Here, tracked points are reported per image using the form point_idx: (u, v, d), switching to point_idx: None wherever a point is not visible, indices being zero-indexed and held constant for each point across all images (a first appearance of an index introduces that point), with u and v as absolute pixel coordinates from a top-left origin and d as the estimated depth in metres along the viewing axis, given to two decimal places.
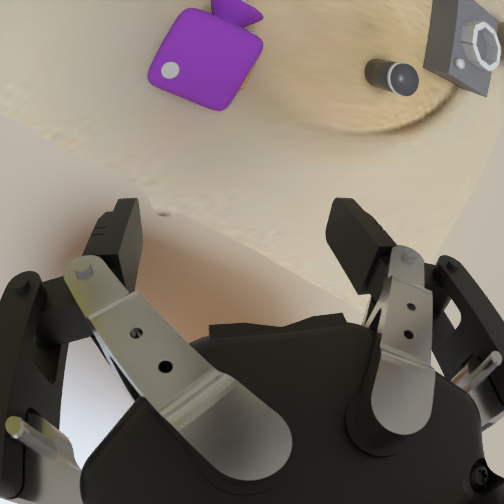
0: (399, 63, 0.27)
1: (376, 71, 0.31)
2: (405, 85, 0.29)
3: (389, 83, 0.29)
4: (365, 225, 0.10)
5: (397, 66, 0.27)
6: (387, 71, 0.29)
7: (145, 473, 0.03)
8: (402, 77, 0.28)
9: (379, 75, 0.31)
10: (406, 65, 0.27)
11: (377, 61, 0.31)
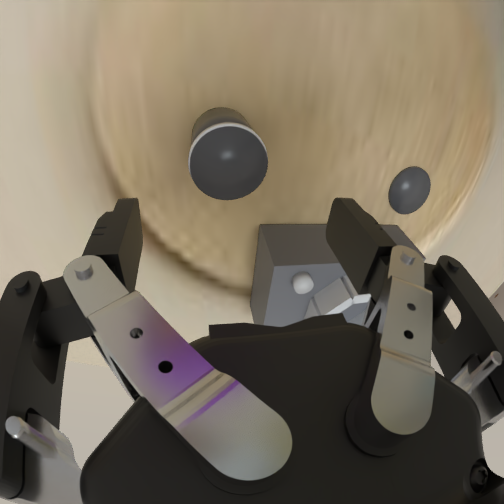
0: (262, 144, 0.16)
1: (225, 115, 0.18)
2: (215, 167, 0.16)
3: (208, 129, 0.15)
4: (365, 225, 0.10)
5: (255, 137, 0.16)
6: (234, 122, 0.16)
7: (145, 473, 0.03)
8: (232, 155, 0.16)
9: (217, 118, 0.17)
10: (264, 159, 0.16)
11: (246, 121, 0.20)
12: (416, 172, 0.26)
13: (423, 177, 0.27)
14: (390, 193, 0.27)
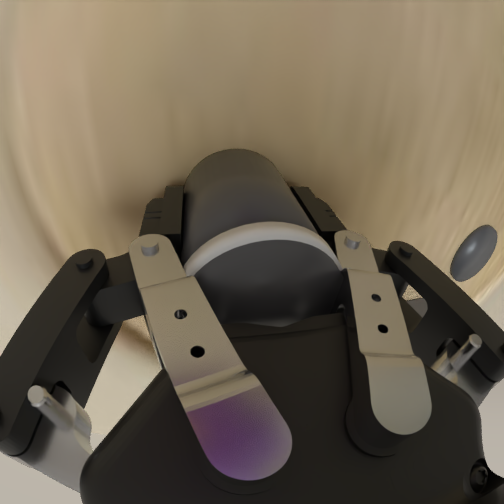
0: None
1: (250, 178, 0.09)
2: None
3: (219, 244, 0.07)
4: (313, 211, 0.10)
5: (331, 266, 0.07)
6: (282, 221, 0.07)
7: (145, 473, 0.03)
8: (277, 304, 0.07)
9: (235, 192, 0.08)
10: None
11: (284, 182, 0.11)
12: (487, 232, 0.17)
13: (492, 237, 0.18)
14: (455, 261, 0.19)
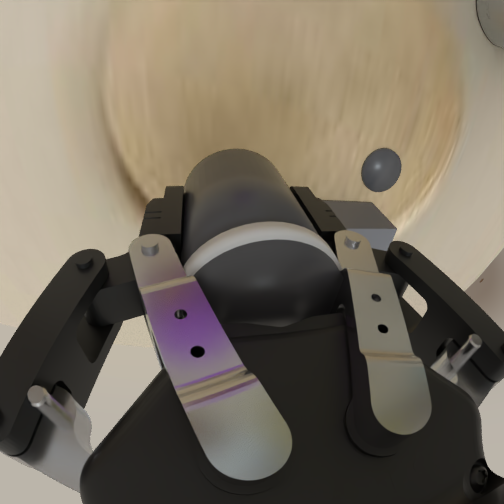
0: None
1: (250, 178, 0.09)
2: None
3: (219, 244, 0.07)
4: (313, 211, 0.10)
5: (331, 266, 0.07)
6: (282, 222, 0.07)
7: (145, 473, 0.03)
8: (276, 304, 0.07)
9: (235, 192, 0.08)
10: None
11: (284, 182, 0.11)
12: (386, 152, 0.30)
13: (393, 158, 0.31)
14: (362, 172, 0.31)
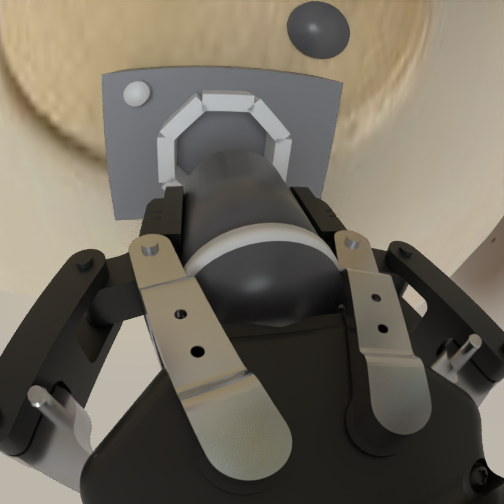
0: None
1: (249, 179, 0.09)
2: None
3: (219, 245, 0.07)
4: (313, 211, 0.10)
5: (331, 267, 0.07)
6: (282, 223, 0.07)
7: (145, 473, 0.03)
8: (277, 305, 0.07)
9: (235, 193, 0.08)
10: None
11: (284, 183, 0.11)
12: (320, 5, 0.17)
13: (334, 14, 0.18)
14: (288, 28, 0.19)
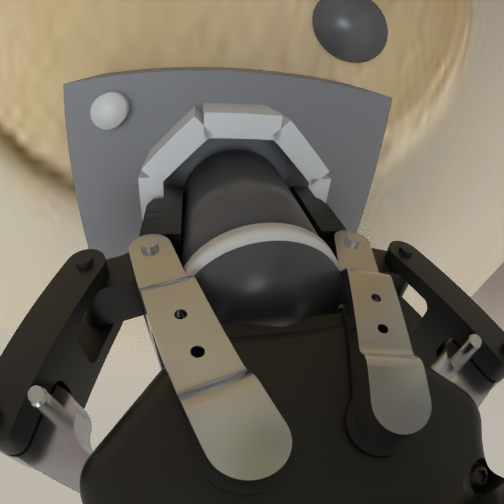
0: None
1: (249, 179, 0.09)
2: None
3: (219, 245, 0.07)
4: (313, 211, 0.10)
5: (331, 267, 0.07)
6: (282, 222, 0.07)
7: (145, 473, 0.03)
8: (276, 305, 0.07)
9: (235, 193, 0.09)
10: None
11: (284, 183, 0.11)
12: None
13: (369, 7, 0.13)
14: (314, 22, 0.14)
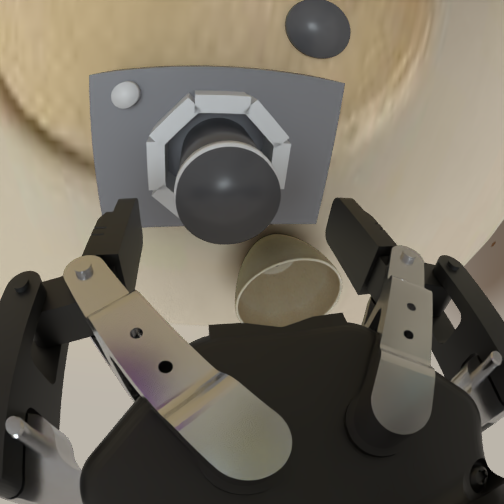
0: (274, 171, 0.12)
1: (223, 128, 0.14)
2: (210, 203, 0.12)
3: (200, 150, 0.11)
4: (365, 225, 0.10)
5: (264, 162, 0.12)
6: (236, 141, 0.12)
7: (145, 473, 0.03)
8: (233, 186, 0.12)
9: (213, 133, 0.13)
10: (276, 192, 0.12)
11: None
12: (320, 3, 0.16)
13: (334, 11, 0.17)
14: (286, 26, 0.18)
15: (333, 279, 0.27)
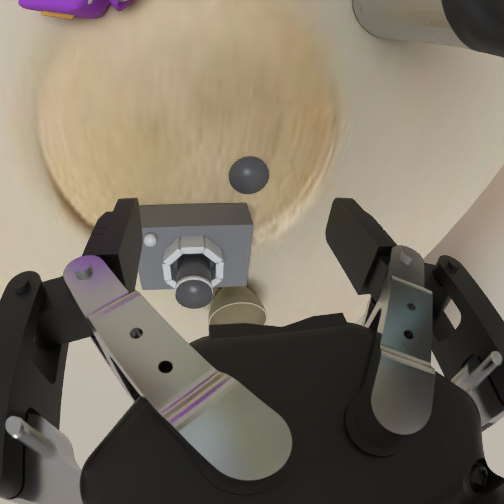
0: (209, 286, 0.35)
1: (193, 261, 0.37)
2: (187, 296, 0.35)
3: (183, 280, 0.34)
4: (365, 225, 0.10)
5: (205, 285, 0.34)
6: (196, 275, 0.35)
7: (145, 473, 0.03)
8: (195, 292, 0.35)
9: (189, 266, 0.36)
10: (210, 293, 0.35)
11: (206, 259, 0.39)
12: (249, 160, 0.39)
13: (258, 164, 0.39)
14: (229, 178, 0.40)
15: (263, 310, 0.50)
